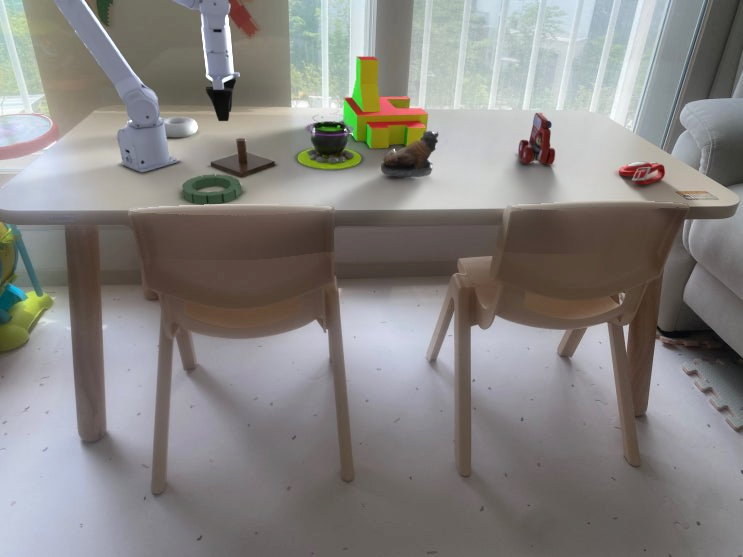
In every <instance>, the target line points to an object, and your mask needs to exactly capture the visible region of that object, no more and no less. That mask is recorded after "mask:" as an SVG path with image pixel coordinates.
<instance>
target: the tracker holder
mask: <svg viewBox="0 0 743 557" xmlns="http://www.w3.org/2000/svg"><path fill="white" fill-rule="evenodd" d="M617 171H618V175H620V176H625V177H626V176H628V177H629V176H631V177H632V176H633V177H632V179H631V181H632V182H634V183H635V184H636V185H650V184H653V183H655V182H658V181H661V180H662V179H664V177H665V175H666V169H665V166H664V165H663V164H661V163H659V162H656V161H635V162H631V163H627V164H626V165H624V166H622V167H620V168H619V169H618V170H617ZM656 171H657V173H656V175H655V176H653V177H649V178H647V177H648V175H650V174H653V173H654V172H656Z"/></svg>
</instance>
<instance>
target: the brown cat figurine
mask: <svg viewBox="0 0 743 557" xmlns="http://www.w3.org/2000/svg"><path fill="white" fill-rule="evenodd" d="M438 137H439V131H436V132H434V131H433V130H427V131H426V132H425V131H424V132H423V137H422V138H420V139H421V141H415V142H413V143H411V144H410V145H408V146H407V147H406V146H405V147H403V148H401V149H399V150H398V151H396V150H395V148H392V149H391V150H390V151H388V152H387V153H386V154H385V156H384V158H383V162H382V163H381V164H380V171H381V172H382V173H383V175H387V176H392V177H397V178H398V177H399V178H419V177H427V176H430V175H431V174H432V171H433V167H434V164H433V162H431V160H430V159H429V158H430V156H431V154H432V153H433V152H434V151H436V149H437V147H436V146H437V144H438V143H439V140H438Z"/></svg>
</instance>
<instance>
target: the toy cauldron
mask: <svg viewBox="0 0 743 557" xmlns="http://www.w3.org/2000/svg"><path fill="white" fill-rule="evenodd" d="M338 112H340V111H339V110H338V109H337V111H336V112H333V113H330V115H336V116H338V115H339V116H341V117H342V118H343V117H345V116H343V115H342V114H338ZM336 113H337V114H336ZM316 116H317V117H318V114H315V115H313V116H312V120H314V121H315V122H313V123H310V124H307V125H306V126H305V127H304V130H305V131H306V132H308V133H310V141H311V144H312V146H313V147H312V148H308V149H305V150H302V151H301V152H299V154H297V160H298V162H299V163H300V164H302V165H304V166H305V167H309V168H312V169H318V170H342V169H349V168H353V167H355V166H357V165H359V164H360V162H361V161H362V157H361V155H360V154H359V153H358V152H356V151H354V150H352V149H349V148H347V146H348V143H349V137H353V135H352V134H351V131H352V130H353V129H355V128H353V127H352V126H350V125H349V126H348V124H347V125H346V124H345V123H344V121H345V120H346V119H347V118H345V120H344V121H343V120H342V121H341V122H340V121H335V120H332V121H328V120H327V121H326V120H325V121H322V120H321V121H318V120H317V121H316V119H315V117H316ZM323 118H324V116H321V119H323ZM348 128H349V129H348ZM351 128H353V129H351ZM349 130H350V131H349ZM352 132H354V130H353V131H352Z"/></svg>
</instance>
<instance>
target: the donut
mask: <svg viewBox="0 0 743 557" xmlns="http://www.w3.org/2000/svg"><path fill="white" fill-rule="evenodd" d="M163 120H164V126H165V132H166V138H171V139H172V138H174V139H175V138H176V139H178V138H186V137H191V136H192V135H194V134H196V132H197V131H198V127H199V126H198V123H197V121H196V120H195V119H193V118H190V117H186V116H169V117H165V118H163Z"/></svg>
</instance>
